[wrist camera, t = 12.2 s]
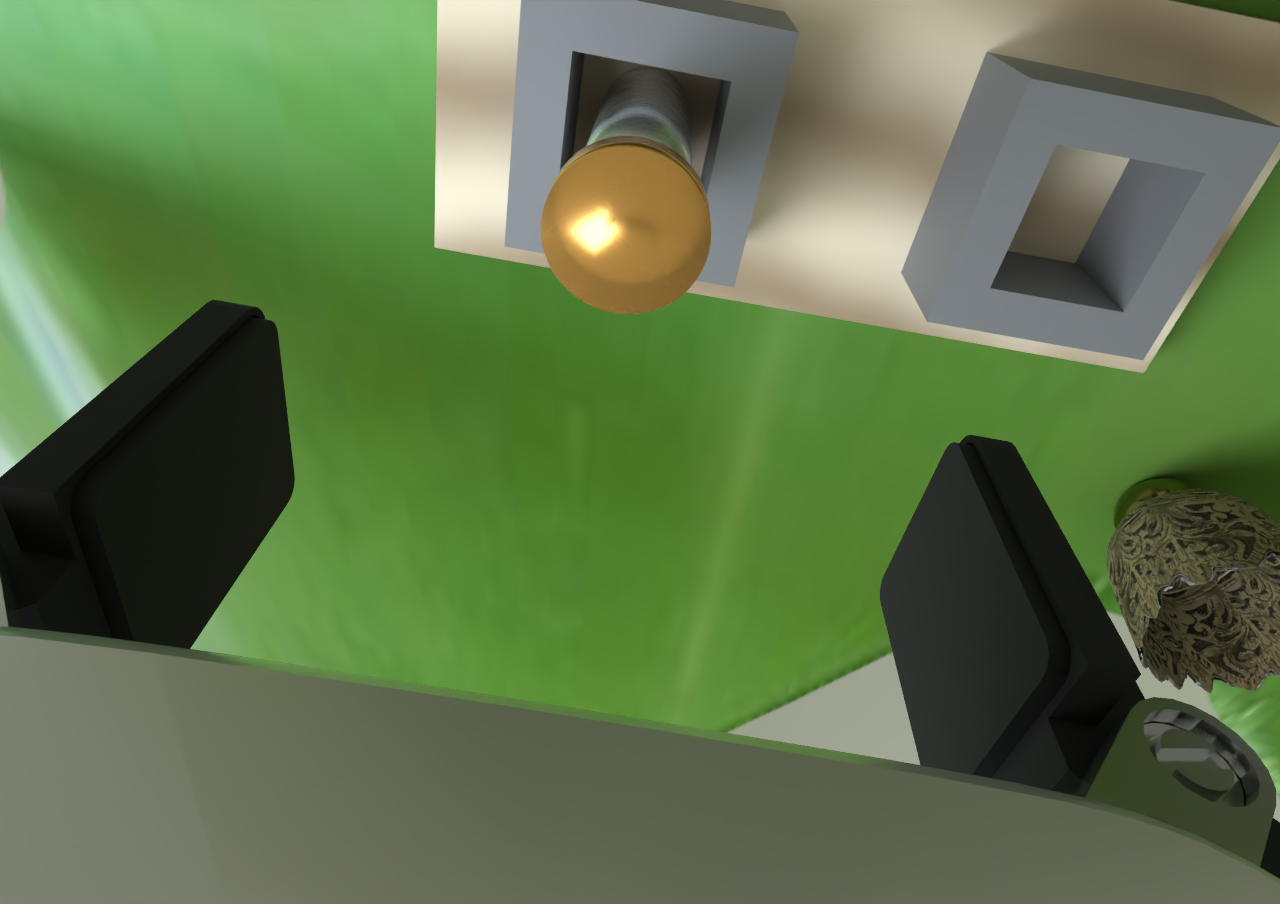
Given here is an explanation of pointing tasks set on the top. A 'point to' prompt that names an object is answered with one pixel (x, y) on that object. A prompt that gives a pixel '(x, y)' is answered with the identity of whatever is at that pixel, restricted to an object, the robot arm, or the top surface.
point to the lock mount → (1127, 228)
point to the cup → (1197, 583)
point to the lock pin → (631, 201)
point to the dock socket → (666, 38)
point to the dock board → (866, 136)
